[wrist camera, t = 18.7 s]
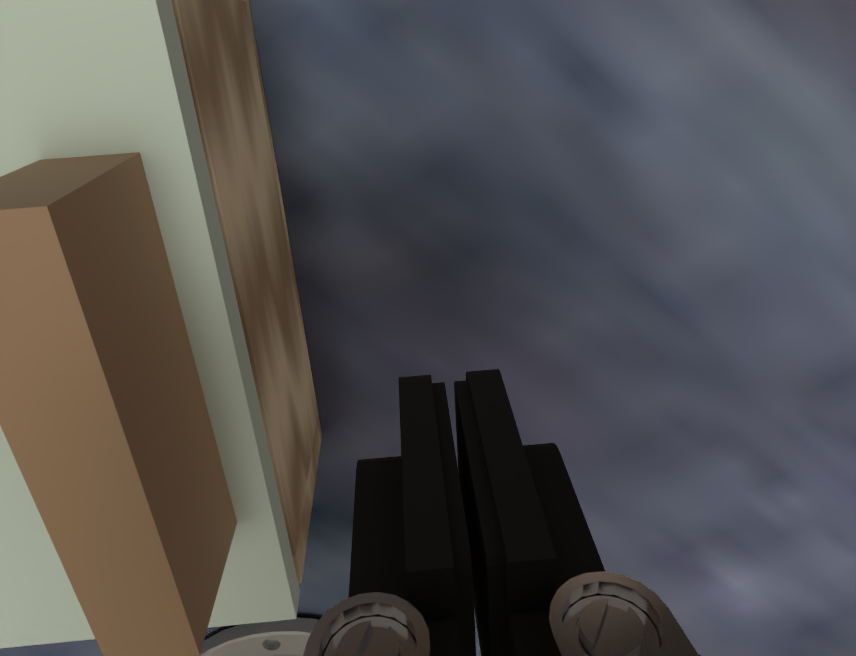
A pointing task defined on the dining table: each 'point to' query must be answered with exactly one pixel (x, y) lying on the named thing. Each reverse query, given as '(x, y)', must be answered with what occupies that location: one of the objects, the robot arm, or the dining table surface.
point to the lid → (122, 351)
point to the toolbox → (255, 242)
